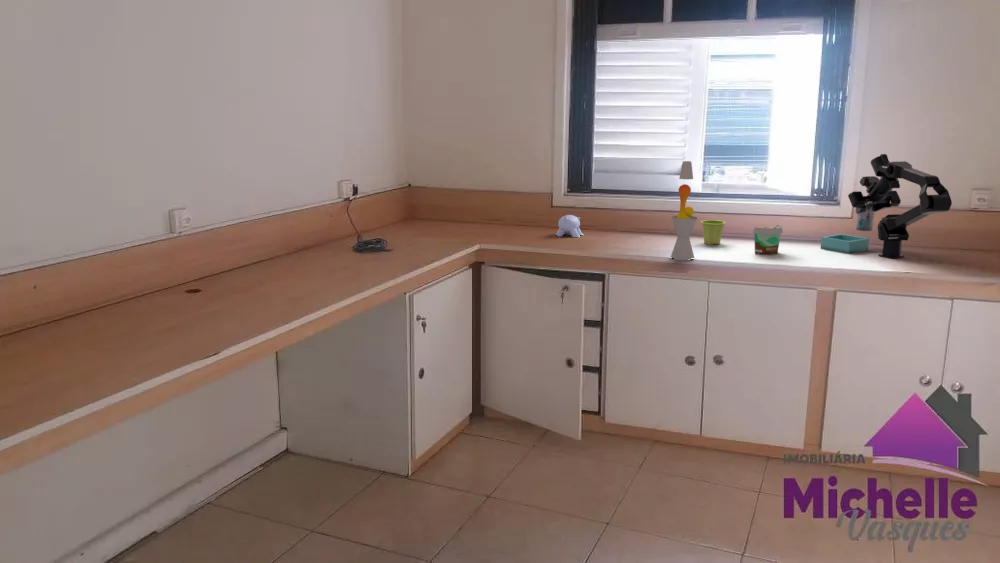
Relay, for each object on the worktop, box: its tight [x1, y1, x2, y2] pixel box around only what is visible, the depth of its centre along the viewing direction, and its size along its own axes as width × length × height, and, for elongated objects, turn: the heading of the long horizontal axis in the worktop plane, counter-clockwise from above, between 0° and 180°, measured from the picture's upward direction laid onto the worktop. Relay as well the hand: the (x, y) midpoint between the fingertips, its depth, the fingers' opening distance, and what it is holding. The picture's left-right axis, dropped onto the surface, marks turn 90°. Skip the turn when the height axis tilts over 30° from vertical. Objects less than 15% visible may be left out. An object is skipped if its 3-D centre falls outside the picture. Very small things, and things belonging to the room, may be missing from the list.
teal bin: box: [820, 233, 870, 255], centre depth 308 cm, size 12×12×4 cm
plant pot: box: [700, 219, 726, 245], centre depth 321 cm, size 9×9×9 cm
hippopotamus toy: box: [555, 214, 584, 238], centre depth 342 cm, size 11×15×10 cm
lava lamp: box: [670, 160, 698, 261], centre depth 290 cm, size 9×9×35 cm
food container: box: [752, 224, 784, 256], centre depth 300 cm, size 12×6×10 cm, turn 117°
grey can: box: [855, 202, 876, 232], centre depth 309 cm, size 6×6×12 cm
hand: (863, 212), depth 311 cm, fingers closed on grey can, 6 cm apart
